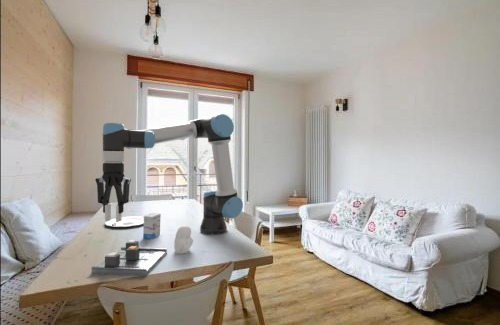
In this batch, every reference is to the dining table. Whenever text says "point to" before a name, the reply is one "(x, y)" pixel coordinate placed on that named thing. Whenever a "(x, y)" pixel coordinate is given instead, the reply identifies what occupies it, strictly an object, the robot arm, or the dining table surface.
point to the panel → (133, 263)
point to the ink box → (151, 226)
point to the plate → (135, 219)
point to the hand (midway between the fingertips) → (113, 220)
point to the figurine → (183, 239)
